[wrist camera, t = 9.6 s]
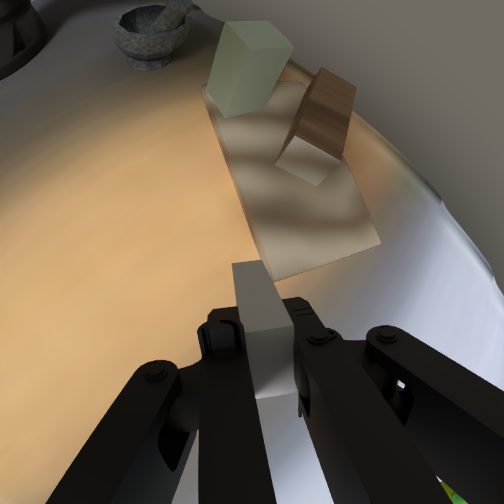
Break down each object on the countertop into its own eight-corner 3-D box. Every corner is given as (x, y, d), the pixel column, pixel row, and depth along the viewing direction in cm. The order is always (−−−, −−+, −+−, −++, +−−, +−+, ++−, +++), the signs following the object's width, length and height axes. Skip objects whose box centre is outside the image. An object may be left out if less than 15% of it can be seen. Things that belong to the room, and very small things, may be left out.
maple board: (201, 92, 32) (203, 84, 30) (297, 88, 37) (302, 81, 35) (269, 283, 28) (274, 281, 27) (373, 247, 33) (381, 243, 32)
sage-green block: (205, 89, 30) (225, 21, 21) (242, 82, 32) (268, 20, 23) (224, 118, 30) (250, 49, 21) (262, 109, 32) (295, 47, 22)
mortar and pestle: (103, 55, 30) (101, -15, 19) (159, 33, 33) (169, -32, 22) (143, 95, 30) (148, 12, 19) (204, 68, 33) (224, -5, 22)
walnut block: (340, 163, 26) (355, 87, 31) (293, 137, 25) (321, 67, 30) (316, 186, 31) (337, 109, 36) (274, 164, 30) (305, 91, 35)
